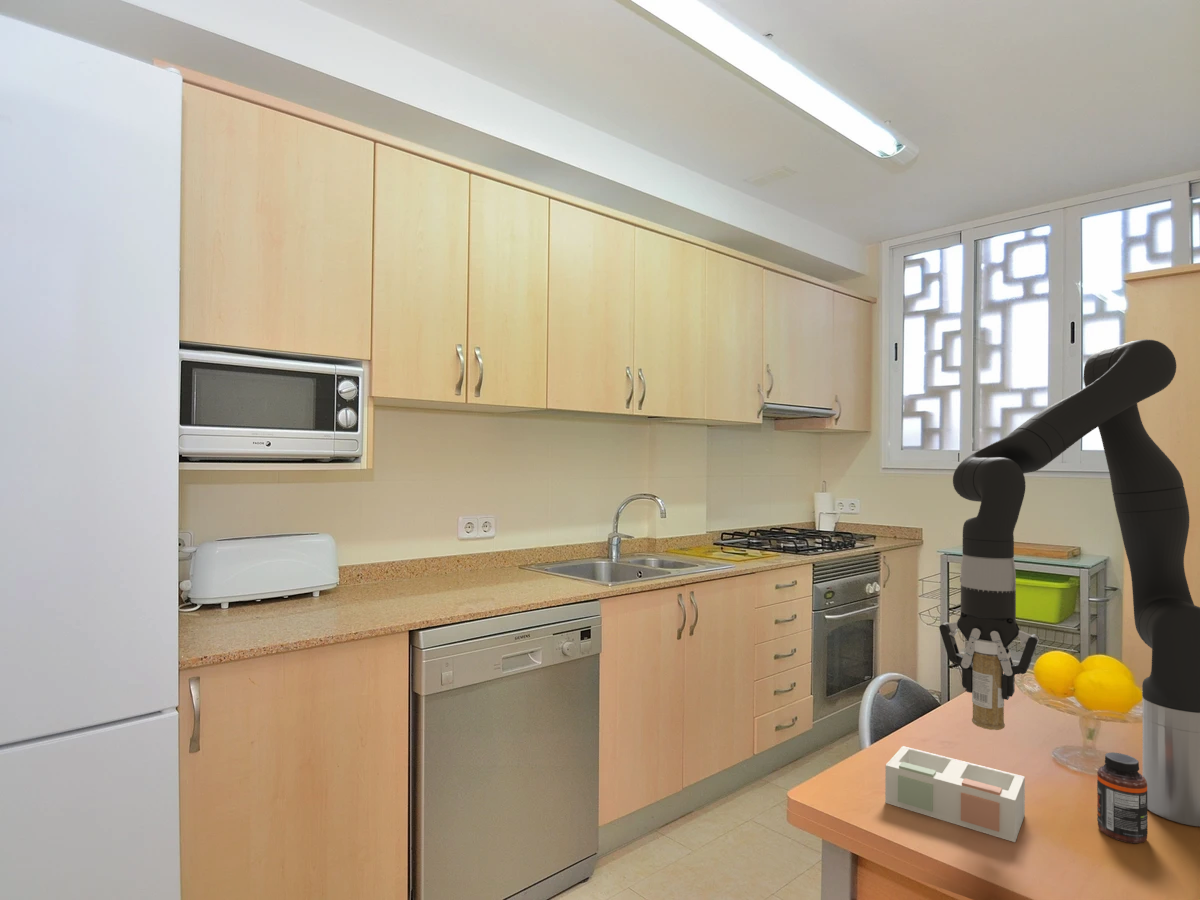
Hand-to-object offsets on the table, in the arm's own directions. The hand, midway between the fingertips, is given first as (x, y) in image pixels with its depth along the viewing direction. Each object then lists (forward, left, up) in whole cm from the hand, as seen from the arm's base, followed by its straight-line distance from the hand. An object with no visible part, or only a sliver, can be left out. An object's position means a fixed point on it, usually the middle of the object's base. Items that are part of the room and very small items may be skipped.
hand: (987, 694), depth 107 cm
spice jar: (0, 0, -5) cm, 5 cm away
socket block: (+5, +1, -19) cm, 19 cm away
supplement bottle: (-16, -7, -19) cm, 26 cm away
